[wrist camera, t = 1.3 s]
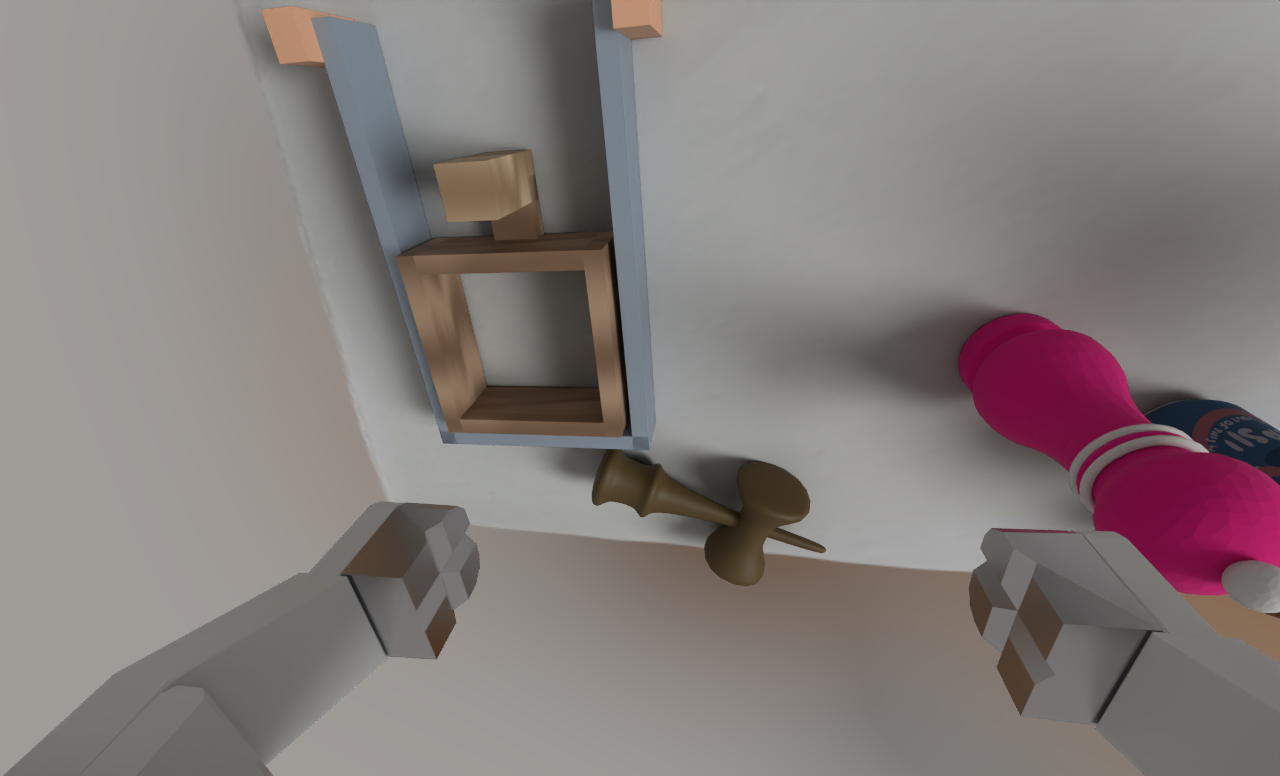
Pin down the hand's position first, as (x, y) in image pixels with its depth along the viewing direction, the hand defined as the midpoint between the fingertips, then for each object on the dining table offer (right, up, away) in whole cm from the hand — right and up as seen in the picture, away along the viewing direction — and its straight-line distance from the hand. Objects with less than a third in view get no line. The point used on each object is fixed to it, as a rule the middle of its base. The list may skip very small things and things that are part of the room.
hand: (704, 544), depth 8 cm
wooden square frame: (-9, +10, +29) cm, 32 cm away
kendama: (+5, -6, +37) cm, 37 cm away
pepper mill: (+24, +5, +27) cm, 36 cm away
